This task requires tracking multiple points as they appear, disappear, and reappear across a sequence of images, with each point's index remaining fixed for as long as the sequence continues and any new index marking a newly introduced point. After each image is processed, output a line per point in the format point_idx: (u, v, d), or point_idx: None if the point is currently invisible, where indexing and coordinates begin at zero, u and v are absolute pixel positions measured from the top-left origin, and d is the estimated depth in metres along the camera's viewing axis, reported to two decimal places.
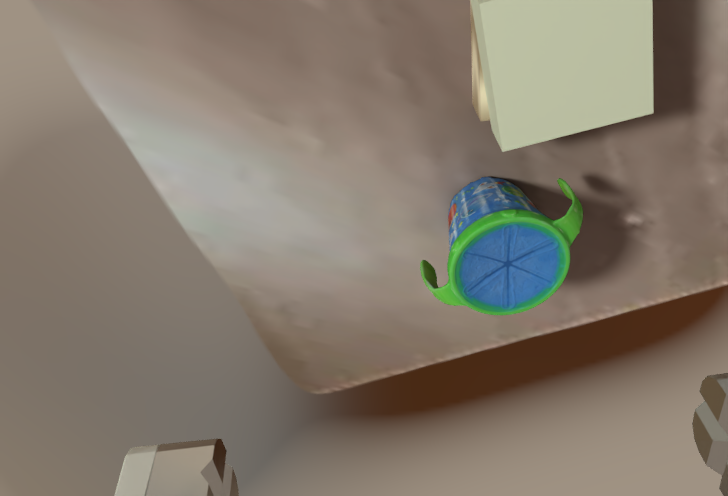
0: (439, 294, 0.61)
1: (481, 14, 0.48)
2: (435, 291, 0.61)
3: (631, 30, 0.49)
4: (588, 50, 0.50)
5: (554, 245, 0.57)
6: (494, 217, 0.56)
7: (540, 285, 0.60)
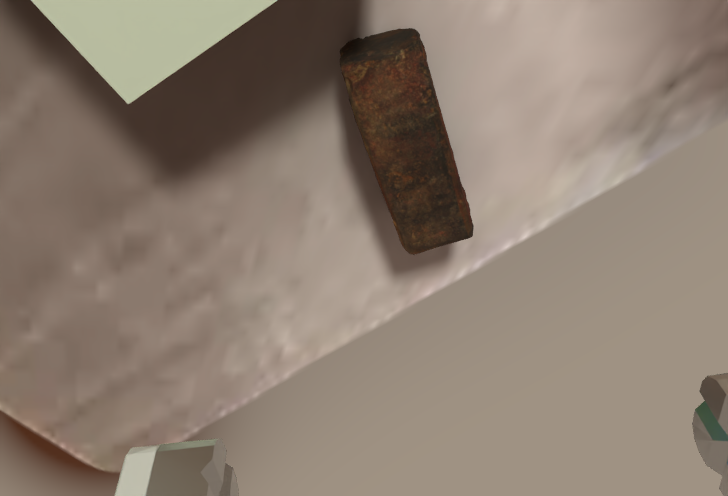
0: None
1: None
2: None
3: None
4: None
5: None
6: None
7: None
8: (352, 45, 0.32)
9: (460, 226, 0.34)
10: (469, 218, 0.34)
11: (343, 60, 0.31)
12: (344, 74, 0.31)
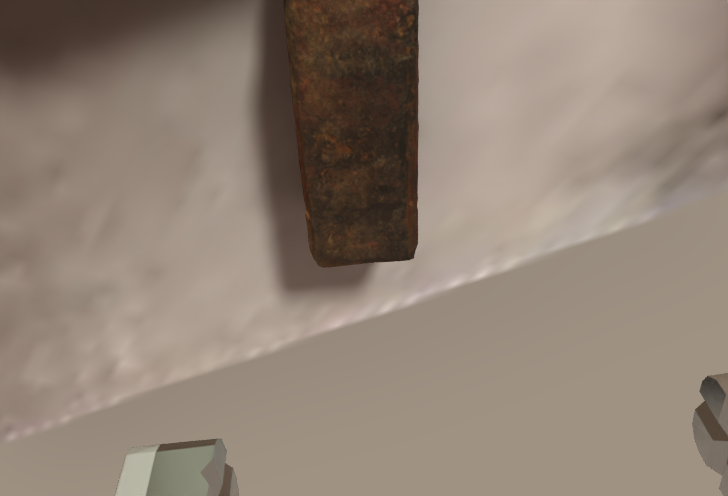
0: None
1: None
2: None
3: None
4: None
5: None
6: None
7: None
8: None
9: (401, 240, 0.23)
10: (416, 231, 0.23)
11: None
12: None
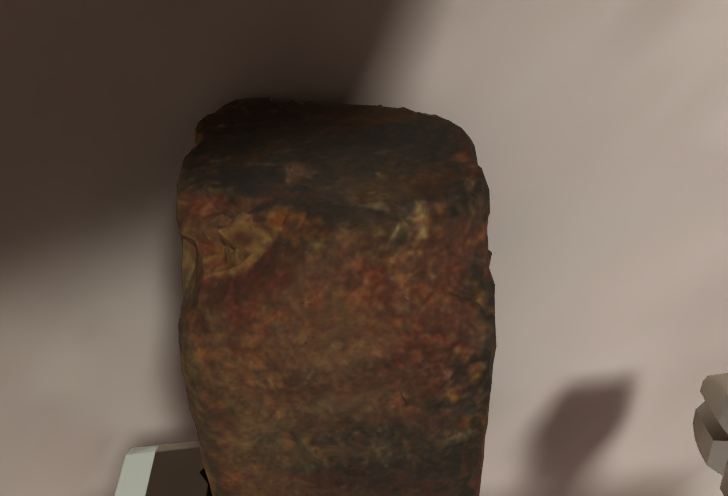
0: None
1: None
2: None
3: None
4: None
5: None
6: None
7: None
8: (242, 118, 0.10)
9: None
10: None
11: (194, 169, 0.09)
12: (182, 226, 0.08)
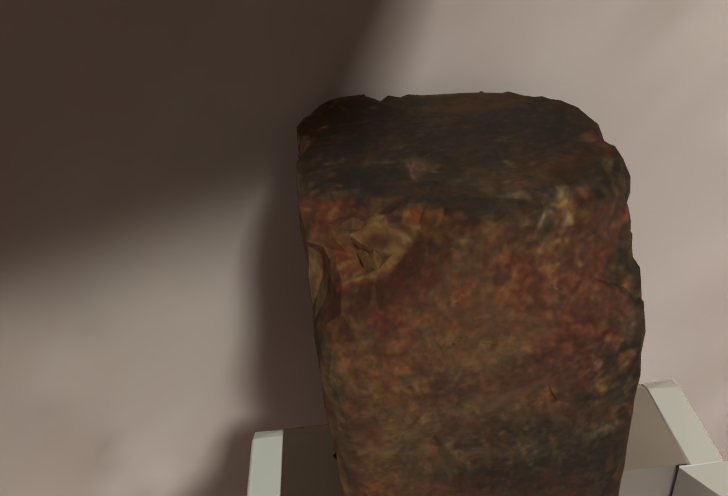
0: None
1: None
2: None
3: None
4: None
5: None
6: None
7: None
8: (342, 118, 0.09)
9: None
10: None
11: (310, 174, 0.08)
12: (309, 233, 0.08)
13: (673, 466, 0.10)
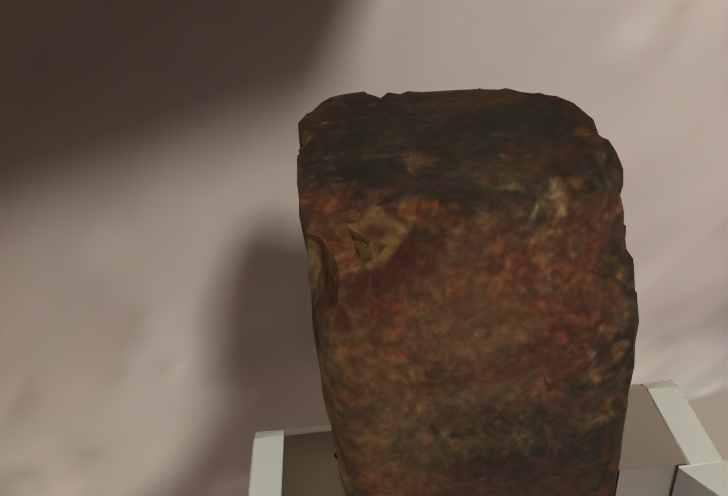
0: None
1: None
2: None
3: None
4: None
5: None
6: None
7: None
8: (343, 113, 0.10)
9: None
10: None
11: (310, 168, 0.08)
12: (308, 225, 0.08)
13: (672, 466, 0.10)
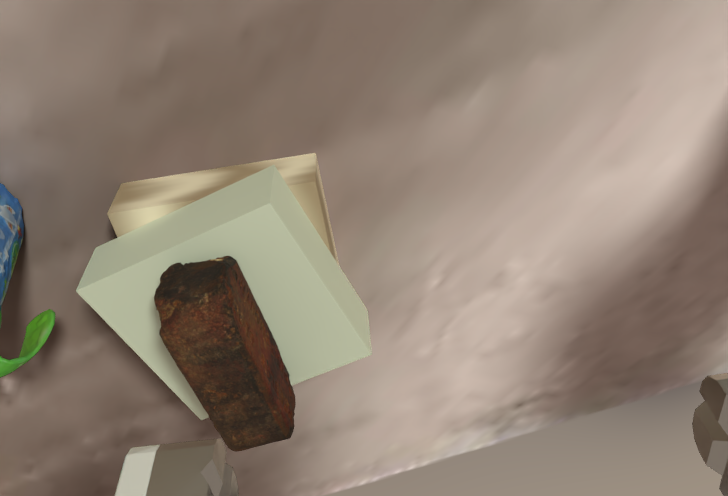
0: None
1: (256, 208, 0.34)
2: None
3: (288, 366, 0.41)
4: None
5: None
6: None
7: None
8: (171, 272, 0.35)
9: (277, 431, 0.37)
10: (285, 423, 0.37)
11: (158, 292, 0.34)
12: (156, 308, 0.33)
13: None
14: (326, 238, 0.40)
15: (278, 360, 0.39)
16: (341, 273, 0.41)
